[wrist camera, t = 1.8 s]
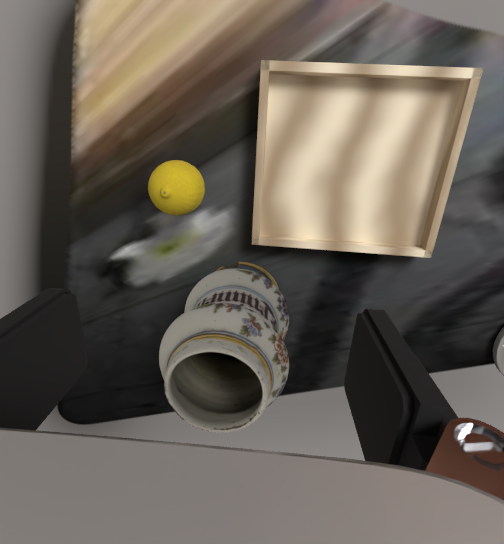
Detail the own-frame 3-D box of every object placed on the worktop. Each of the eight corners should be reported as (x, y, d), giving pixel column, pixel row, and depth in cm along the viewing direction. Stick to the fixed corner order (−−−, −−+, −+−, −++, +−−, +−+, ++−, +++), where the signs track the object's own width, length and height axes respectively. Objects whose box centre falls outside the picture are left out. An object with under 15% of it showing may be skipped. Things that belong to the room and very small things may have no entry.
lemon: (221, 182, 36) (205, 191, 29) (191, 217, 38) (170, 233, 31) (183, 148, 35) (157, 147, 28) (155, 185, 37) (124, 194, 30)
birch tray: (468, 74, 31) (483, 68, 28) (421, 250, 37) (430, 257, 35) (262, 66, 32) (261, 60, 29) (253, 238, 38) (251, 244, 36)
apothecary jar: (267, 239, 38) (256, 309, 22) (301, 320, 42) (314, 433, 25) (181, 272, 41) (112, 357, 24) (220, 345, 45) (184, 463, 28)
